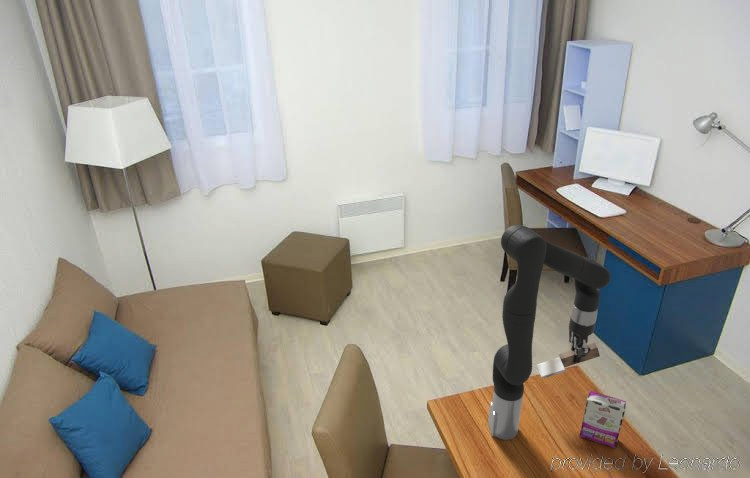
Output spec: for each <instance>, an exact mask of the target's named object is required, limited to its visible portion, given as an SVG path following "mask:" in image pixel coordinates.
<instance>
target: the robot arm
mask: <svg viewBox="0 0 750 478" xmlns="http://www.w3.org/2000/svg"><path fill="white" fill-rule="evenodd" d="M500 246H501V248H502V249H503V251H504V252H505V253H506V254H507V255H508V256H509V257H510V258H511V259H513V260H514V261H515V262H516V265H517V273H516V275H517V277H516V280H515V283H514V284H513V285H512V286H511V287H510V288H509V289H508V291H507V292H506V293H505V295H504V297H503V302H502V313H501V315H502V325H503V328H504V334H505V337H506V342H507V344H504V345H502V346H500V347H499V348H498V350H497V351H496V353H495V355H494V357H493V361H492V362H493V363H492V382H493V392H492V393H493V394H492V401H490V403H489V411H488V412H489V413H488V420H487V423H488V427H489V428H488V429H489V431H490V435H491V437H495V438H498V439H500V440H504V441H509V440H512V439H514V438H515V437H516V436H517V435H518V431H519V426H520V420H521V419H520V418H521V411H522V405H523V399H524V394H525V385H524V383H526V382H527V381H528V380H529V378H530V377H531V374H532V371H533V339H534V330H535V323H536V322H535V321H536V316H537V315H536V313H537V301H538V293H539V287H540V281H541V276H542V273H543V272H542V271H543V268H544V265H545V266H547V267H548V268H549V269H551V270H554V271H555V272H556V273H559V274H562V275H564V276H566V277H569V278H573V279H574V288H575V296H574V302H573V305H572V308H571V313H570V317H569V318H570V319H569V323H568V339H569V340H568V342H569V344H570V351H571V350H575V353H574V358H573V363H577V364H580V363H581V362H580V361H581V357H586V356H587V354H588V353H589V352H590V348H587V345H588V341H589V337H590V336H591V335H592V334H593V333H594V332H595V328H596V327H595V326H596V322H597V317H598V309H599V306H600V305H599V304H600V298H601V294H600V292H599V290H600V289H604V288H605V287H607V286H608V285H609V284H610V282H611V277H612V276H611V272H610V270H608V268H607V267H605V266H603V265H602V264H601V263H599V262H597V261H596V260H594V259H593V258H591V257H585V256H582V255H580V254H578V253H576V252H574V251H572V250H570V249H566V248H564V247H561V246H559V245H556V244H553V243H551V242H549V241H547V240H545V238H543V236H541V235H540V234H538V233H537V232H536V231H534V230H532V228H530V227H528V226H527V225H526V226H525V225H523V224H514V225H511V226H508V227H507V229H505V231H504V232H503V234H502V235H501V237H500ZM578 350H579V351H578Z"/></svg>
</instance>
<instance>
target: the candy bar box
mask: <svg viewBox="0 0 750 478" xmlns="http://www.w3.org/2000/svg"><path fill="white" fill-rule="evenodd" d="M626 407H627V400H623V399H619V398H616V397H612V396H610V395H606V394H603V393H599V392H596V391H593V390H589V391H588V396H587V398H586V404H585V409H584V411H583V412H584V413H583V418H582V423H581V427H580V432H579V437H580V438H583V439H586V440H590V441H593V442H595V443H598V444H601V445H605V446H608V447H610V448H612V449H616V447H617V443H618V440H619V437H620V432H621V428H622V426H623V425H622V423H623V422H624V421H623V420H624V417H625V413H626Z"/></svg>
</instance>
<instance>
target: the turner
mask: <svg viewBox="0 0 750 478" xmlns="http://www.w3.org/2000/svg"><path fill="white" fill-rule="evenodd" d="M587 348H590V352H589V353H588V354H587V356H586V357H581V361H580V363H583V362H586V361H590V360H593V359H597V358H598V357H601V356H600V351H599V348H598V345H597V344H596V343H595V342H593V343H590V344H587ZM578 351H579V350H578ZM574 353H575V350H571V349H570V350H568V351H564V352H562V353H559V354H558V356H559V357H556V358H555V357H554V358H552V359H549V360H546V361H543V362H540V363H537V364H536V367H537V370H538V372H539V374H540V377H541V379H542V380H543V379H546V378H549V377H553V376H556V375H558V374H562V373H565V372H566V369H565V368H569V367H570V366H574V365H577V364H578V363H573V358H574Z"/></svg>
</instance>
